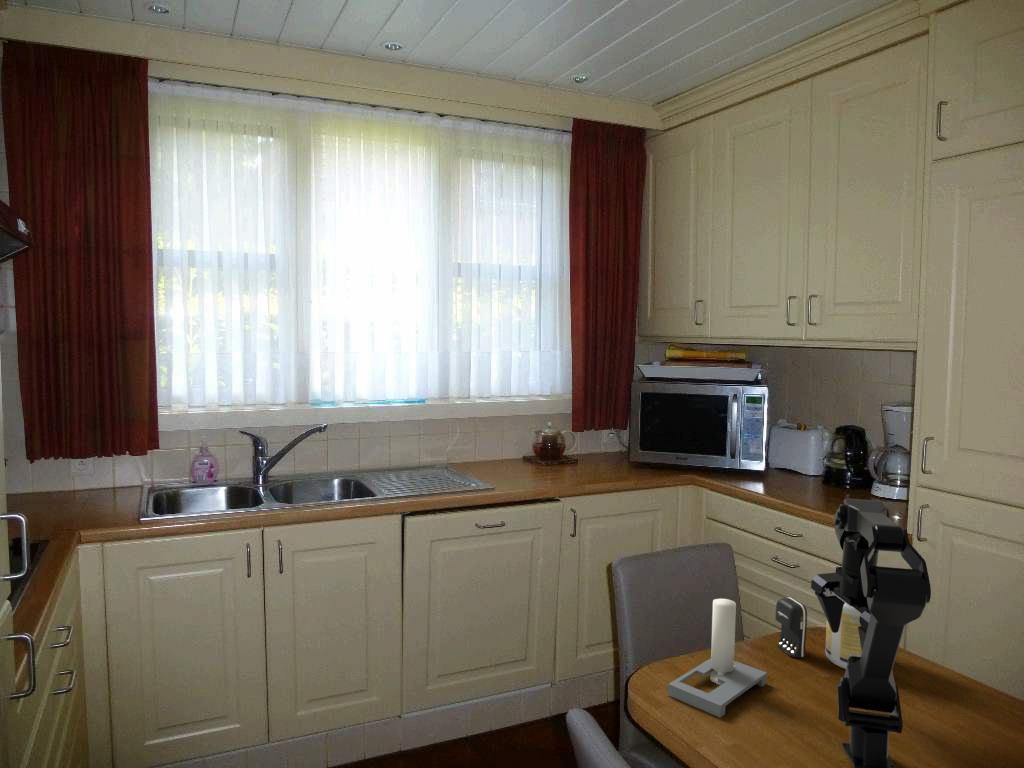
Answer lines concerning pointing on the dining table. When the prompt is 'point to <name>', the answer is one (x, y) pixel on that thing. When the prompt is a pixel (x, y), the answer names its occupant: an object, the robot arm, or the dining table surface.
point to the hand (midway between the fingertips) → (850, 645)
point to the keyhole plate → (722, 695)
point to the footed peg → (722, 638)
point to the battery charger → (792, 626)
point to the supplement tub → (844, 638)
